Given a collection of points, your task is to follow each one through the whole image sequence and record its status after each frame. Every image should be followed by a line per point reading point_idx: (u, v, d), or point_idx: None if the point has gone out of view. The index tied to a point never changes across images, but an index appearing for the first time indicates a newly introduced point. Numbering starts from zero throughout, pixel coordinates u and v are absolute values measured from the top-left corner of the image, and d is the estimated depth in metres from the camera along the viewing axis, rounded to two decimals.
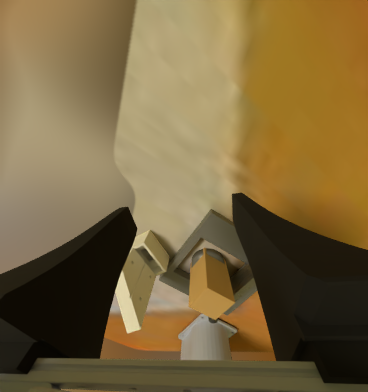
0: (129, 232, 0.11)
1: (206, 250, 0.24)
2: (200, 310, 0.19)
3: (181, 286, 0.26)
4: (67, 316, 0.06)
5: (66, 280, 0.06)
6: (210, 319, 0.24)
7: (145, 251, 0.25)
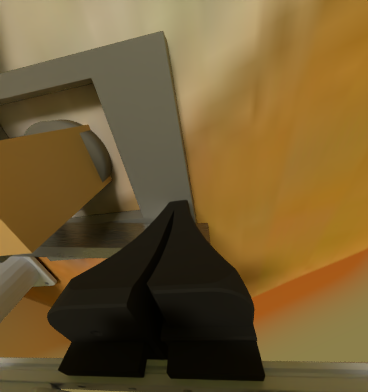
0: None
1: (86, 130, 0.10)
2: None
3: None
4: (160, 314, 0.05)
5: None
6: None
7: None
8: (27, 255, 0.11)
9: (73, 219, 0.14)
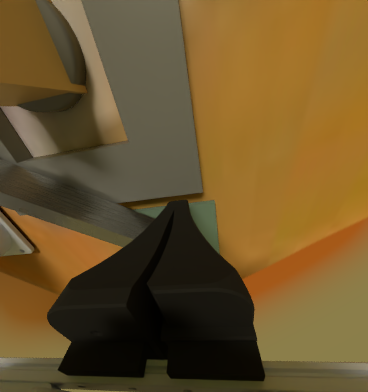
0: None
1: None
2: None
3: None
4: (160, 314, 0.05)
5: None
6: None
7: None
8: None
9: (43, 156, 0.11)
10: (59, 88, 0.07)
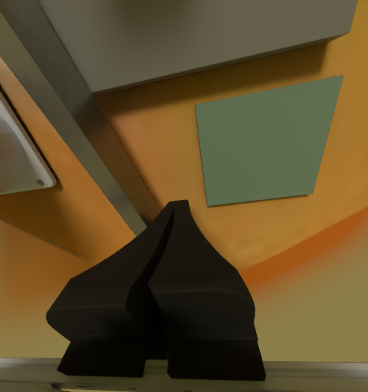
0: None
1: None
2: None
3: None
4: (159, 314, 0.05)
5: None
6: None
7: None
8: None
9: None
10: None
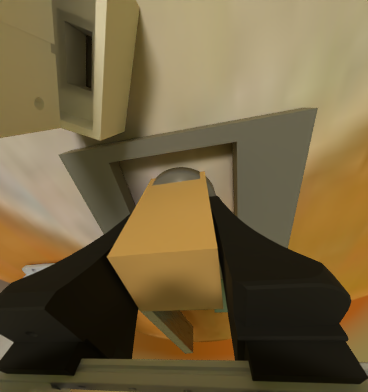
0: None
1: (205, 178, 0.11)
2: (130, 281, 0.06)
3: (98, 202, 0.12)
4: (105, 315, 0.06)
5: (103, 278, 0.06)
6: None
7: (77, 52, 0.08)
8: None
9: None
10: None
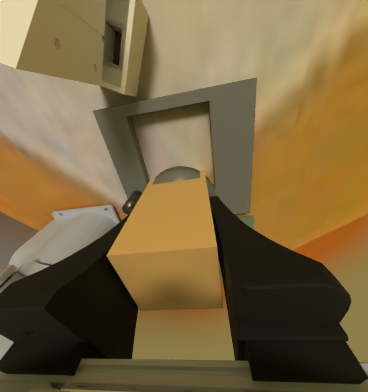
0: None
1: (205, 177, 0.11)
2: (130, 280, 0.06)
3: (116, 149, 0.17)
4: (105, 315, 0.06)
5: (103, 278, 0.06)
6: (131, 207, 0.16)
7: (110, 41, 0.13)
8: None
9: None
10: None
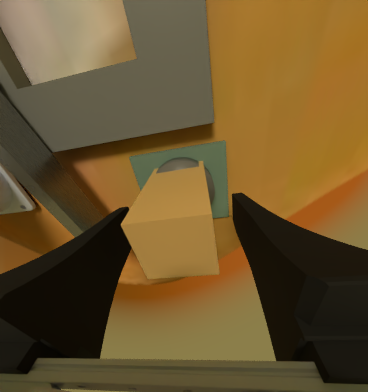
0: None
1: (204, 166, 0.12)
2: (139, 248, 0.08)
3: None
4: (67, 316, 0.06)
5: (66, 280, 0.06)
6: None
7: None
8: None
9: None
10: None
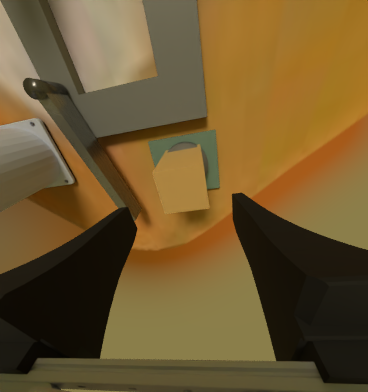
0: (129, 232, 0.11)
1: (200, 148, 0.17)
2: (161, 190, 0.13)
3: (16, 8, 0.12)
4: (67, 316, 0.06)
5: (66, 280, 0.06)
6: (35, 84, 0.12)
7: None
8: (50, 114, 0.14)
9: None
10: None
